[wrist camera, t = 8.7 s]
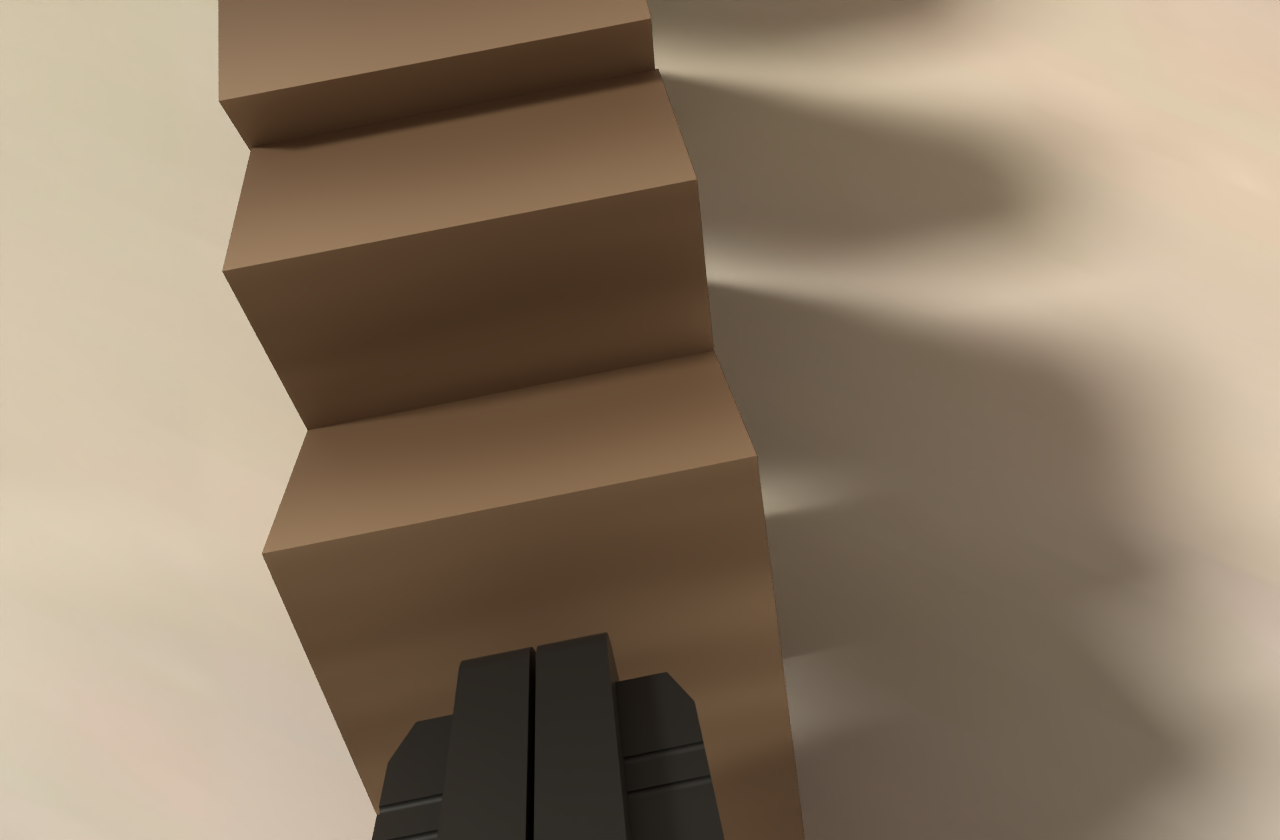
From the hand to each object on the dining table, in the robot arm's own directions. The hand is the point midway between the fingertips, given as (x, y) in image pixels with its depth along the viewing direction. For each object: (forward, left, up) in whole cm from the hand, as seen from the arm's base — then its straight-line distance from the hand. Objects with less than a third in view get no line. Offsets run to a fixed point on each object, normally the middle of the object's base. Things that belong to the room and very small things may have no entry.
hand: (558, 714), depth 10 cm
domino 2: (+2, +1, -7) cm, 7 cm away
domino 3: (-3, -1, -7) cm, 7 cm away
